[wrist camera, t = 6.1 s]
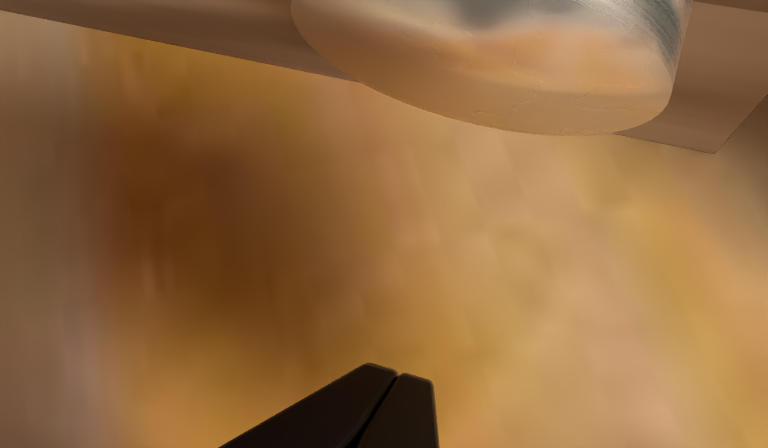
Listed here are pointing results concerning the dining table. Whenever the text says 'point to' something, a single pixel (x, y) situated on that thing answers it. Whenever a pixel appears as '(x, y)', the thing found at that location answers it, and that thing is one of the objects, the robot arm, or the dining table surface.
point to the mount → (289, 49)
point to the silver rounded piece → (509, 57)
